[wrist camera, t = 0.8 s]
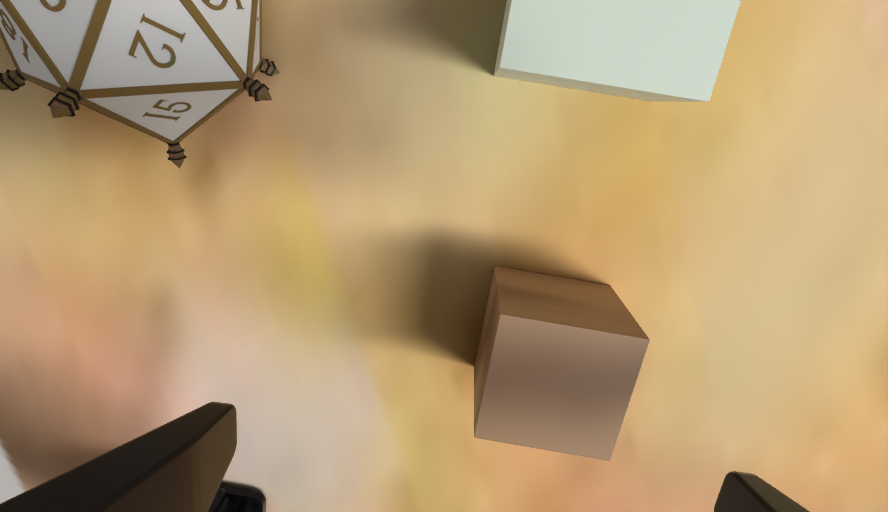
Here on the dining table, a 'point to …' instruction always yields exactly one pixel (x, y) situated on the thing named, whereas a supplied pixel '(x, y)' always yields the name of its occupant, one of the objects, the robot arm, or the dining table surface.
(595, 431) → the walnut block
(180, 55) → the game die
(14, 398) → the dining table surface
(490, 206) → the dining table surface
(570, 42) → the sage block
